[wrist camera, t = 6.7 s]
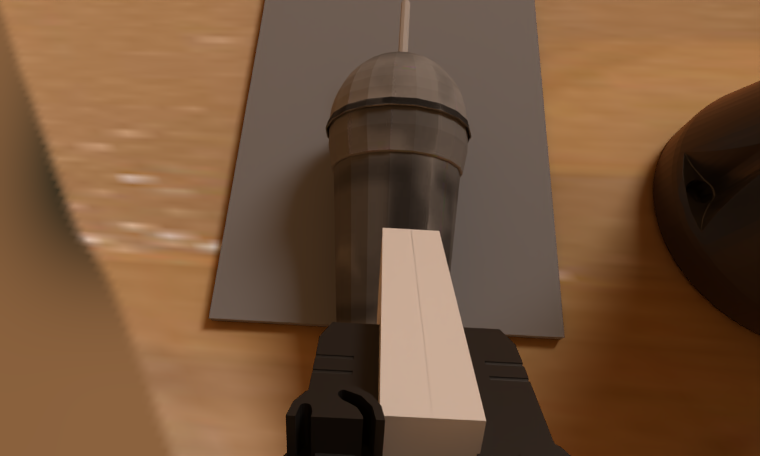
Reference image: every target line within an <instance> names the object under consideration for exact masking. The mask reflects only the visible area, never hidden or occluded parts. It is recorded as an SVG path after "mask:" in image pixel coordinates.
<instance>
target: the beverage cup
mask: <svg viewBox="0 0 760 456" xmlns="http://www.w3.org/2000/svg"><path fill="white" fill-rule="evenodd" d="M409 18H410V2H409V0H403V1H402V3H401V16H400V32H399V48H398V51H397V52H389V53H384V54H381V55H378V56H374V57H372V58H370V59H369V60H367V61H365V62H364V63H362V64H361V65H359V66H358V67H357V68H356V69H355V70H353V71H352V72H351V73H350V74H349V76H348V77H347V78H346V80H345V81H344V83H343V84H342V86H341V88H340V89H339V91H338V93H337V95H336V97H335V99H334V102H333V105H332V108H331V113H330V119H329V120H328V122H327V125H326V134H327V137H328V138H329V151H330V159H331V167H332V172H333V174H334V210H335V271H336V322H343V323H361V324H377V310H378V294H379V278H380V262H381V246H382V230H383V228H396V229H414V230H432V231H439V232H440V236H441V240H442V244H443V248H444V252H445V256H446V260H447V264H448V268H449V272H450V271H451V261H452V251H453V242H454V232H455V222H456V212H457V202H458V192H459V183H460V177H461V176H462V174H463V170H464V166H465V161H466V156H467V150H468V142H469V140H470V138H471V137H472V136H471V132H470V128H469V124H468V118H467V113H466V109H465V105H464V101H463V97H462V95H461V92H460V90H459V88H458V86H457V85H456V83H455V81H454V80H453V79H452V78H451V77H450V76H449V75H448V73H447V72H446V71H445V70H444V69H443V68H442V67H441V66H440V65H438V64H437V63H435V62H434V61H432V60H430V59H428V58H426V57H424V56H422V55H418V54H414V53H410V52H408V38H409Z"/></svg>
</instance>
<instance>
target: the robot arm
mask: <svg viewBox="0 0 760 456" xmlns="http://www.w3.org/2000/svg"><path fill="white" fill-rule="evenodd" d="M653 191H654V206H655V212H656V216H657V220H658V224H659V227H660V230H661V233H662V235H663V238H664V240H665V243H666V245H667V247H668V249H669V251H670V253H671V254H672V256H673V258H674V260H675V261H676V263H677V264H678V266H679V267H680V269H681V270H682V271H683V273H684V274H685V275H686V277H687V278H688V279H689V280H690V282H691V283H692V284H693V285H694V286H695V287H696V288H697V290H698V291H699V292H700V293H701V294H702V295H703V296H704V297H705V298H706V299H708V300H709V301H710V302H711V303H712V304H713V305H714V306H716V307H717V308H718V309H719V310H720V311H722V312H723V313H724V314H726V315H727V316H728V317H730V318H731V319H733V320H734V321H736V322H737V323H739V324H741V325H742V326H744V327H746V328H748V329H749V330H751V331H753V332H755V333H757V334H759V335H760V81H758V82H756V83H754V84H751V85H749V86H746V87H744V88H742V89H739V90H737V91H734V92H732V93H730V94H727V95H725V96H723V97H721V98H719V99H718V100H716V101H714V102H713V103H711V104H709V105H708V106H706V107H705V108H704V109H702V110H701V111H700V112H699V113H698V114H696V115H695V116H694V117H693V118H692V119H691V120H690V121H689V122H688V123H686V124H685V125H684V126H683V127H682V128H681V129H680V130H679V131H678V132H677V133H676V134H675V135H674V136H673V137H672V138H671V139H670V141H669V142H668V143H667V145H666V147H665V148H664V150H663V152H662V154H661V156H660V159H659V161H658V164H657V168H656V171H655V177H654V187H653ZM286 435H287V453H286V454H285V455H284V456H571V455H569V454H568V453H567V452H566V451H565V450H564V449H562V448H561V447H560V446H558V445H556V444H555V443H554V441H553V439H552V437H551V434H550V432H549V429H548V426H547V424H546V421H545V419H544V416H543V414H542V411H541V409H540V406H539V404H538V401H537V398H536V396H535V393H534V391H533V388H532V386H531V383H530V382H529V381H528V376H527V373H526V371H525V368H524V367H523V366H522V360H521V358H520V355H519V353H518V350H517V348H516V345H515V344H514V343H513V342H512V341H511V340H510V339H509V338H508V337H507V336H506V335H505V334H504V333H503V332H502V331H501V330H500V329H487V328H468V327H463V325H462V321H461V317H460V313H459V309H458V305H457V301H456V297H455V292H454V288H453V284H452V280H451V276H450V272H449V268H448V264H447V260H446V256H445V252H444V248H443V244H442V240H441V236H440V232H439V231H432V230H414V229H396V228H383V230H382V246H381V262H380V278H379V294H378V310H377V324H361V323H343V322H332V323H331V324H330V325H329V326H328V328H327V329H326V330H325V331H324V332H323V333H322V334H321V335H320V337H319V342H318V347H317V351H316V357H315V361H314V366H313V373H312V376H311V380H310V385H309V390H308V391H305V392H304V393H303V394H302V395H301V396H299V397H298V398H297V399H296V400H294V401H293V403H292V405H291V407H290V409H289V410H288V412H287V414H286Z"/></svg>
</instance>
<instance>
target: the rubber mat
mask: <svg viewBox="0 0 760 456" xmlns="http://www.w3.org/2000/svg"><path fill="white" fill-rule="evenodd" d="M402 1H403V0H265V4H264V10H263V16H262V21H261V27H260V33H259V38H258V44H257V50H256V55H255V61H254V66H253V72H252V78H251V83H250V89H249V95H248V100H247V106H246V111H245V117H244V123H243V128H242V134H241V140H240V145H239V151H238V156H237V162H236V168H235V173H234V179H233V185H232V190H231V196H230V201H229V207H228V213H227V218H226V224H225V230H224V235H223V241H222V246H221V252H220V258H219V263H218V269H217V275H216V280H215V286H214V291H213V297H212V303H211V308H210V314H209V319H211V320H215V321H234V322H252V323H271V324H289V325H307V326H326V327H328V326H329V325H330V324H331V323H332V322H336V271H335V210H334V174H333V172H332V167H331V159H330V151H329V138H328V137H327V134H326V125H327V122H328V120H329V119H330V113H331V108H332V105H333V102H334V99H335V97H336V95H337V93H338V91H339V89H340V88H341V86H342V84H343V83H344V81H345V80H346V78H347V77H348V76H349V74H350V73H351V72H352V71H353V70H355V69H356V68H357V67H358V66H359V65H361V64H362V63H364V62H365V61H367V60H369V59H370V58H372V57H374V56H378V55H381V54H384V53H389V52H397V51H398V48H399V32H400V16H401V3H402ZM409 2H410V18H409V38H408V52H410V53H414V54H418V55H422V56H424V57H426V58H428V59H430V60H432V61H434V62H435V63H437V64H438V65H440V66H441V67H442V68H443V69H444V70H445V71H446V72H447V73H448V75H449V76H450V77H451V78H452V79H453V80H454V81H455V83H456V85H457V86H458V88H459V90H460V92H461V95H462V97H463V101H464V105H465V109H466V113H467V118H468V124H469V128H470V132H471V136H472V137H471V138H470V140H469V142H468V150H467V156H466V161H465V166H464V170H463V174H462V176H461V177H460V183H459V192H458V202H457V212H456V222H455V232H454V242H453V251H452V261H451V271H450V276H451V280H452V284H453V288H454V292H455V297H456V301H457V305H458V309H459V313H460V317H461V321H462V325H463V327H468V328H487V329H500V330H501V331H502V332H503V333H504V334H505V335H506V336H509V337H528V338H546V339H562V338H564V326H563V315H562V304H561V292H560V281H559V270H558V259H557V248H556V236H555V225H554V214H553V203H552V192H551V180H550V169H549V158H548V147H547V136H546V124H545V113H544V102H543V91H542V79H541V68H540V57H539V46H538V35H537V23H536V12H535V1H534V0H409Z"/></svg>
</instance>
